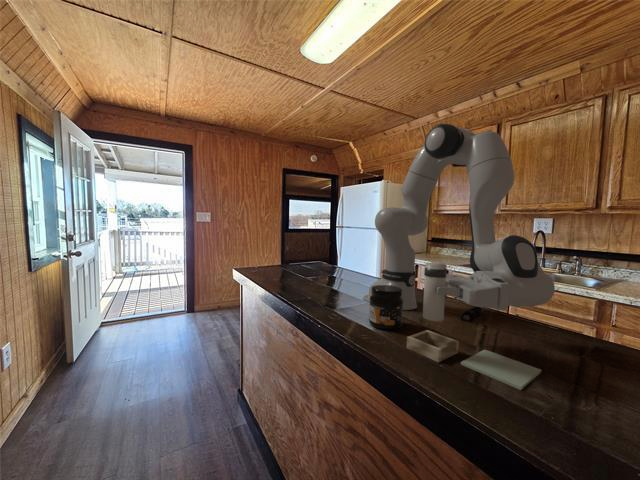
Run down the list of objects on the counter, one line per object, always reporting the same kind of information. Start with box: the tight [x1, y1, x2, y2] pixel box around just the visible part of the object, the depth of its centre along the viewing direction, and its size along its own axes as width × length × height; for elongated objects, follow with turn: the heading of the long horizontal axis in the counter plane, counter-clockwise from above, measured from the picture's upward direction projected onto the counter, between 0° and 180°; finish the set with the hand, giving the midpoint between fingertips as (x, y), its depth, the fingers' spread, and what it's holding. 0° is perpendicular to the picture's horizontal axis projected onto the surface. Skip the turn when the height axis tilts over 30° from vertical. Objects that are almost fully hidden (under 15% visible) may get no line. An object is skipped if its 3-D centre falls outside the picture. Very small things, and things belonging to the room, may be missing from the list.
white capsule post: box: [422, 262, 448, 322], centre depth 71 cm, size 5×5×14 cm
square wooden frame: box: [406, 329, 460, 363], centre depth 72 cm, size 9×9×3 cm
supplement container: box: [368, 285, 404, 331], centre depth 89 cm, size 10×10×12 cm
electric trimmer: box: [460, 306, 482, 323], centre depth 101 cm, size 4×16×3 cm, turn 136°
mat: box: [460, 349, 542, 391], centre depth 64 cm, size 12×12×1 cm
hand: (431, 287), depth 71 cm, fingers closed on white capsule post, 5 cm apart
